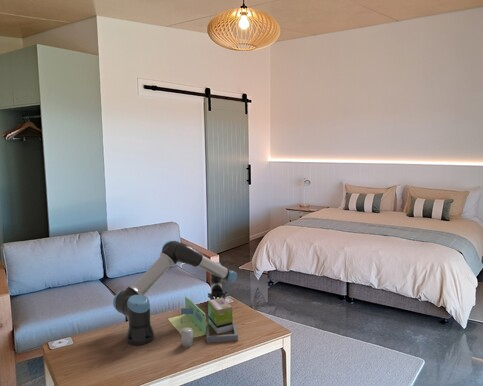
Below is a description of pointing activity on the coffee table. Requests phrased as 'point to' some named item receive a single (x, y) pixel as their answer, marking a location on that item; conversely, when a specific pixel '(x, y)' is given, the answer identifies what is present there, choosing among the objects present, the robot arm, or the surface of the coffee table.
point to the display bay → (222, 336)
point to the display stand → (190, 319)
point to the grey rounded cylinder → (187, 337)
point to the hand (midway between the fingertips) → (219, 304)
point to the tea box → (220, 315)
